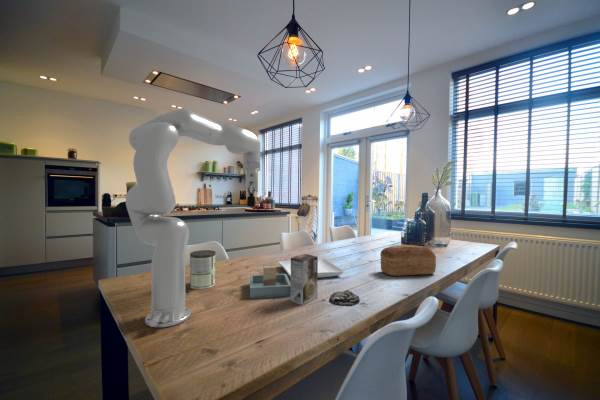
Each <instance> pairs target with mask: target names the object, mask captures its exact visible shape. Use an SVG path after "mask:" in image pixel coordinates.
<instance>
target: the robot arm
mask: <svg viewBox="0 0 600 400" xmlns="http://www.w3.org/2000/svg"><path fill="white" fill-rule="evenodd" d="M180 137H188V138H191V139H193V140H197V141H199V142H202V143H205V144H206V145H207V144H208V145H212V146H225V149H226V150H227V151H228V152H229V153H231V154H234V155H242V171H244V172H245V188H246V189H245V190H246V193H247V199H246V201H247V203H246V204H247V206H246V207H255V206H256V197H255V196H256V195H255V193H256V194H258V192H259V172H260V171H261V141H260V140H259V138H258V136H257V135H256V134H255V133H254V132H252V131H250V130H248V129H246V128H244V127H240V126H236V125H231V124H226V123H222V122H217V121H215V120H214V119H210V118H208V117H206V116H204V115H202V114H199V113H198V112H195V111H194V110H191V109H187V108H179V109H175V110H170V111H167V112H163V113H162V114H160V115H158V116H155V117H154V118H152V119H150V120H148V121H146V122H144V123H141V124H139V125H137V126H136V127H134V128H132V130H131V131H130V132H129V136H128V143H129V145H130V147H132V149H133V150H134V151H135V152H134V156H133V161H132V163H133V164H132V165H133V172H134V175H135V179H136V183H137V184H136V185H135V184H134V185H133V186H132V187H130V189H129V190H128V191H127V193H126V196H125V206H126V210H127V213H128V216H129V219H130V222H131V224H132V227H133V230H134V234H135V235H136V237H137V238H138V240H139V241H140V242H141V243H143V244H145V245H149V246H153V247H155V249H154V252H153V255H152V258H151V265H150V266H151V267H150V270H151V272H150V273H151V279H150V280H151V282H150V286H151V287H150V288H151V291H150V294H151V296H150V297H151V299H150V300H151V301H150V302H151V303H150V305H151V306H150V310H151V311H150V313H148V314H147V315H146V316H145V318H144V324H145V325H146V326H149V327H151V328H167V327H172V326H175V325H179V324H182V323H183V322H185V321H186V320H188V319H189V318H190V317H191V309H190V308H188V307H186V260H187V258H186V257H187V255H186V254H187V247H188V242H189V239H190V229H189V226H188V224H187V223H186V222H185V221H184V220H182V219H180V218H178V217H173V216H163V215H167V214H170V213H171V212H173V210H174V209H175V208H176V205H177V203H176V196H175V195H176V194H175V192H174V189H173V185H172V181H171V178H170V174H169V170H168V161H169V157H170V154H171V152H172V151H173V150H174V149H175V147H176V146H177V144H178V142H179V138H180Z"/></svg>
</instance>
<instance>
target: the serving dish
mask: <svg viewBox="0 0 600 400" xmlns="http://www.w3.org/2000/svg"><path fill="white" fill-rule="evenodd" d="M288 276H289V275H288V273H276V286H263V274H250V275H249V299H264V298H265V299H266V298H279V297H280V298H281V297H282V298H283V297H290V294H291V293H290V290H291V280H290V279H289V278H290V277H288Z"/></svg>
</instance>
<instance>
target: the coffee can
mask: <svg viewBox="0 0 600 400" xmlns="http://www.w3.org/2000/svg"><path fill="white" fill-rule="evenodd" d="M189 257H190V258H189V260H190V261H189V262H190V264H189V267H190V268H189V272H190V273H189V275H190V276H189V287H190V289H193V290H206V289H210V288H212V287H214V286H215V285H216V251H214V250H210V249H204V250H195V251H192V252H190V253H189Z"/></svg>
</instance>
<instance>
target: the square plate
mask: <svg viewBox="0 0 600 400" xmlns="http://www.w3.org/2000/svg"><path fill="white" fill-rule="evenodd" d="M277 263H278V264H279V265H280V267H282V268H283V270H284V271H285V272H286V274H287V276H289V278H291V259H289V260H280V261H277ZM344 273H345V270H343V269H341V268H340V267H338V266H337V265H336V264H334V263H332V262H331V261H329V260H328V259H327V260H326V259H325V258H318V279H321V278H331V277H337V276H340V275H342V274H344Z"/></svg>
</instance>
